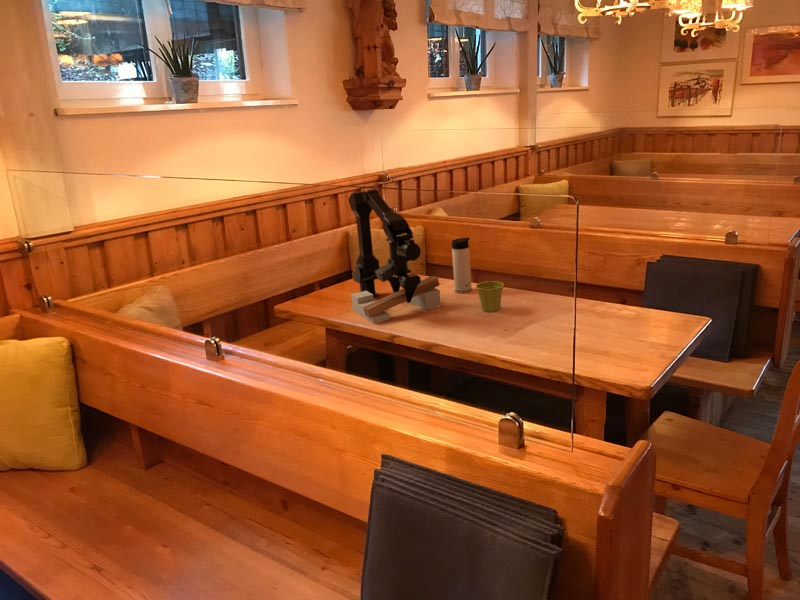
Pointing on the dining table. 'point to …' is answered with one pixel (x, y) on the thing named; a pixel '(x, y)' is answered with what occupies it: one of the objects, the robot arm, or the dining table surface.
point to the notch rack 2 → (428, 299)
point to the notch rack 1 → (363, 300)
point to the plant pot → (490, 295)
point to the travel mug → (461, 265)
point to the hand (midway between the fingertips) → (402, 299)
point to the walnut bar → (399, 297)
